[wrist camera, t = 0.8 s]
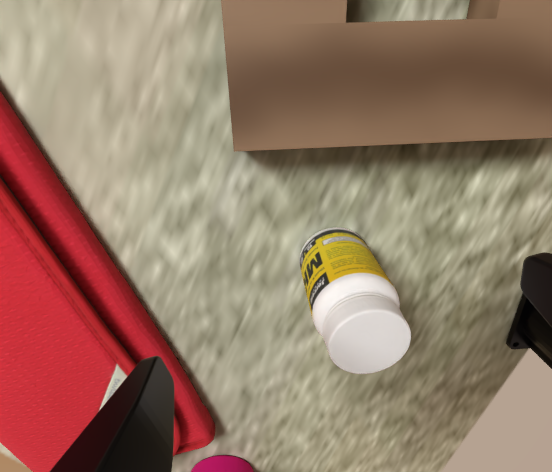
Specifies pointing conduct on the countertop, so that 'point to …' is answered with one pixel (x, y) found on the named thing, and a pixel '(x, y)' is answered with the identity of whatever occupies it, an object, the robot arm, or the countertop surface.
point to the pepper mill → (222, 464)
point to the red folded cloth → (66, 317)
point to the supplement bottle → (353, 302)
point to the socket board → (386, 75)
